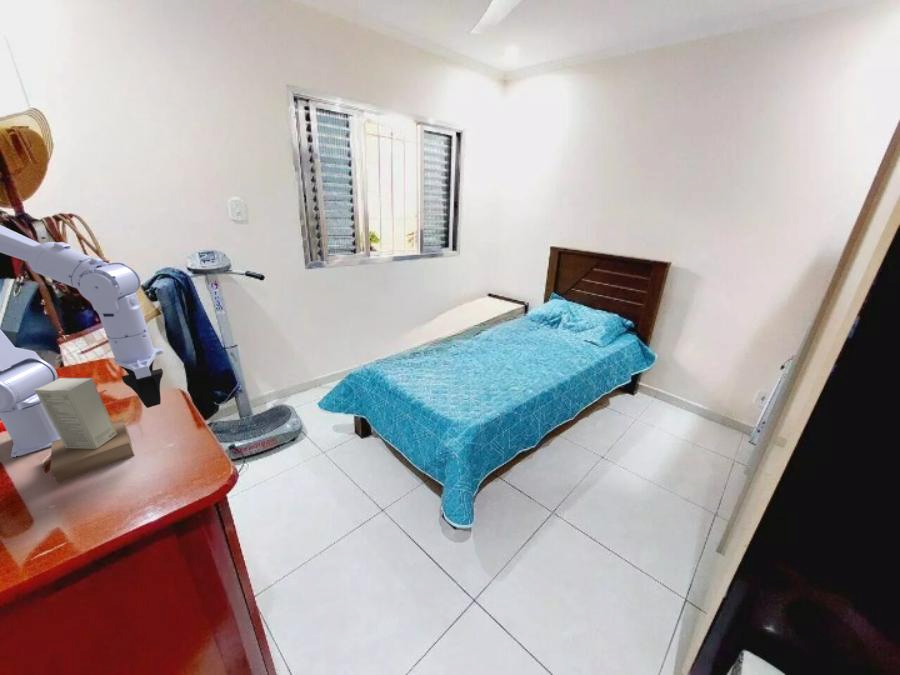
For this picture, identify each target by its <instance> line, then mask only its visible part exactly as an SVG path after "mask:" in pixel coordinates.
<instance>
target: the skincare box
mask: <svg viewBox="0 0 900 675" xmlns="http://www.w3.org/2000/svg"><path fill="white" fill-rule="evenodd" d="M35 392H36V393H37V395H38V397H39V399H40V401H41V403H42V405H43V406H44V408H45V410H46V412H47V414H48V416H49V418H50V419H51V421H52V423H53V425H54V427H55V429H56V431H57V433H58V434H59V436H60V438H61V440H62V442H63V444H64V446H65V448H80V449H97V448H99V447H100V446H102V445H103V444H104V443H106V442H107V441H109V440H110V439H112V438H113V437H114V436H116V435H117V432H116V430H115V427H114V425H113V421H112V419H111V417H110V414H109V412H108V410H107V408H106V405H105V403H104V401H103V400H102V397H101V395H100V393H99V391H98V389H97V387H96V384H95V382H94V379H93V378H92V377H60V378H57V380H55V381H53V382H50V383H48V384H46V385H44V386H42V387H40V388H37V389H35Z"/></svg>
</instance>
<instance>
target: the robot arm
mask: <svg viewBox="0 0 900 675" xmlns="http://www.w3.org/2000/svg"><path fill="white" fill-rule="evenodd" d="M71 246H72V245H70V244H69V243H67V242H64V241H60V242H56V241H48V242H44V243H40V242H38V241H37V240H33V239H32V238H30V237H27V236H25V235H23V234H20V233H18V232H16V231H14V230H11V229H10V228H7V226H4V225H2V224H0V253H1V254H4V255H6V256H10V257H13V258H15V259H19V260H20V261H21V260H22V261H25V262H27V263H28V266H29V267H30V269H31V270H32V271H33V272H34V273H36V274H38V275H40V276H43V277H46V278H49V279H51V280H54V281H56V282H58V283H61V284H65V285H67V286H70V287H72V288H75V289H77V291H78V292H79V294H80V295H81V296H82V297H83V298H84V299H85V300H87V301H88V302H90V304H91V306H92V308H93V311H96V313H97V315H98V316H99V319H100V322H101V325H102V327H103V330H104V333H105V336H106V338H107V341H108V343H109V347H110V349H111V352H112V354H113V357H114V358H113V361H114V364H115V365H117V366H119V367H121V369H122V370H124V371H125V372H126V373H127V375H122V376H121V379H122V382H123V384H125V385H126V386H128V387H129V388H130V389H131V390H133V391H134V393H135V394H136V395H137V396H138V399H139V400H140V401H141V403H142V404H143V405H144V406H145V408H147V409H149V408H152V407H157V406H159V405H160V404H161V403H162V401H161V398H162V397H161V396H162V395H161V381H162V378H163V374H164V371H163V369H162V368H158V369H154V370H153V368H154V361H155V358H156V357H157V356H158V355H162V354H164V349H163V348H162V347H156V348H155V347H154V343H153V340H152V338H151V335H150V332H149V328H148V325H147V323H146V322H147V321H146V320H145V317H144V312H143V310H142V307H141V303H140V300H139V297H138V294H137V292H138V291H139V290H140V288H141V283H142V282H141V281H142V280H141V278H140V276H139V274H138V273H137V271H135V270H134V269H133V268H132V267H131V266H128V265H127V264H126V263H124V262H121V261H119V262H117V261H115V262H110V263H108V262H105V261H104V260H103V259H102V258H100V257H97V256H96V257H92V256H90V255H88V254H85V253H82V252H80V251H77V250H75V249H74V248H71ZM57 379H58V373H57V371H56V369H55V367H53V366H52V364H50V363H48V361H45V360H43V359H42V358H41V357H40V356H39V354H37V352H36V351H35V350H31V349H26V348H21V347H17V346H16V347H15V345H14V344H13V343H12V342H11V340H10V339H9V338H8V337H7V336H6V334H5V332H3V331H2V330H1V328H0V420H1V423H2V424H3V426H4V428H5V430H6V431H7V433H8V435H9V437H10V439H11V441H12V443H13V444H12V449H11V454H10V458H12V457H15V458H17V457H16V456H18V457H21V456H24V455H28V454H31V453H34V452H38V451H40V450H43V449H46V448H50V447H52V441H56V440H59V439H61V438H60V436H59V434H58V433H57V431H56V429H55V427H54V425H53V423H52V421H51V419H50V418H49V416H48V414H47V412H46V410H45V408H44V406H43V405H42V403H41V401H40V399H39V397H38V395H37V393H36V392H35V389H37V388H40V387H42V386H44V385H46V384H48V383H50V382H53V381H55V380H57Z"/></svg>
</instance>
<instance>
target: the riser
mask: <svg viewBox="0 0 900 675" xmlns="http://www.w3.org/2000/svg"><path fill="white" fill-rule="evenodd" d="M112 423H113V425H114V427H115V430H116V432H117V435H116V436H114V437H113V438H112V439H110V440H109V441H107V442H106V443H104V444H103V445H102V446H100V447H99V448H97V449H80V448H65V446H64V444H63V442H62V440H61V439H59V440H56V441H52V446H51V450H50V451H51V453H50V468H49V469H50V470H49V471H50V472H51V474H52V476H53V478H54V480H55V482H56V484H57V485H59V484H62V483H65V482H67V481H69V480H72V479H75V478H79V477H81V476H84V475H86V474H89V473H91V472H94V471H97V470H100V469H102V468H104V467H107V466H110V465H113V464H116V463H118V462H122V461H124V460H126V459H129V458H132V457H135V453H134V448H133V445H132V442H131V436H130V433H129V430H128V428H127V425H126V423H125V419H121V420H117V421H114V422H113V421H112Z"/></svg>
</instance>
